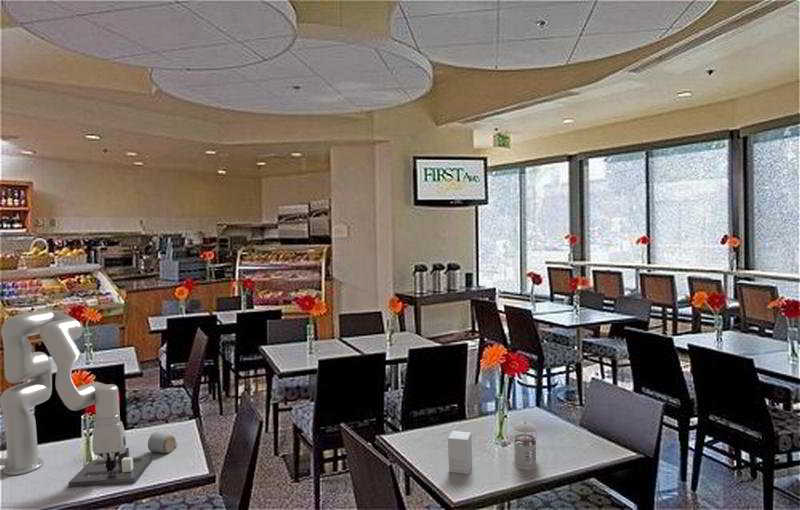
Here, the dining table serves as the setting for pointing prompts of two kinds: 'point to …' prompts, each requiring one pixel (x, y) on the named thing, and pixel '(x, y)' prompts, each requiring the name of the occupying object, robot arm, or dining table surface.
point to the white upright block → (127, 464)
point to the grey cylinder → (161, 442)
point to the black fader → (123, 455)
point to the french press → (525, 446)
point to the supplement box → (460, 452)
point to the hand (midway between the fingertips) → (111, 469)
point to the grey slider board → (109, 473)
